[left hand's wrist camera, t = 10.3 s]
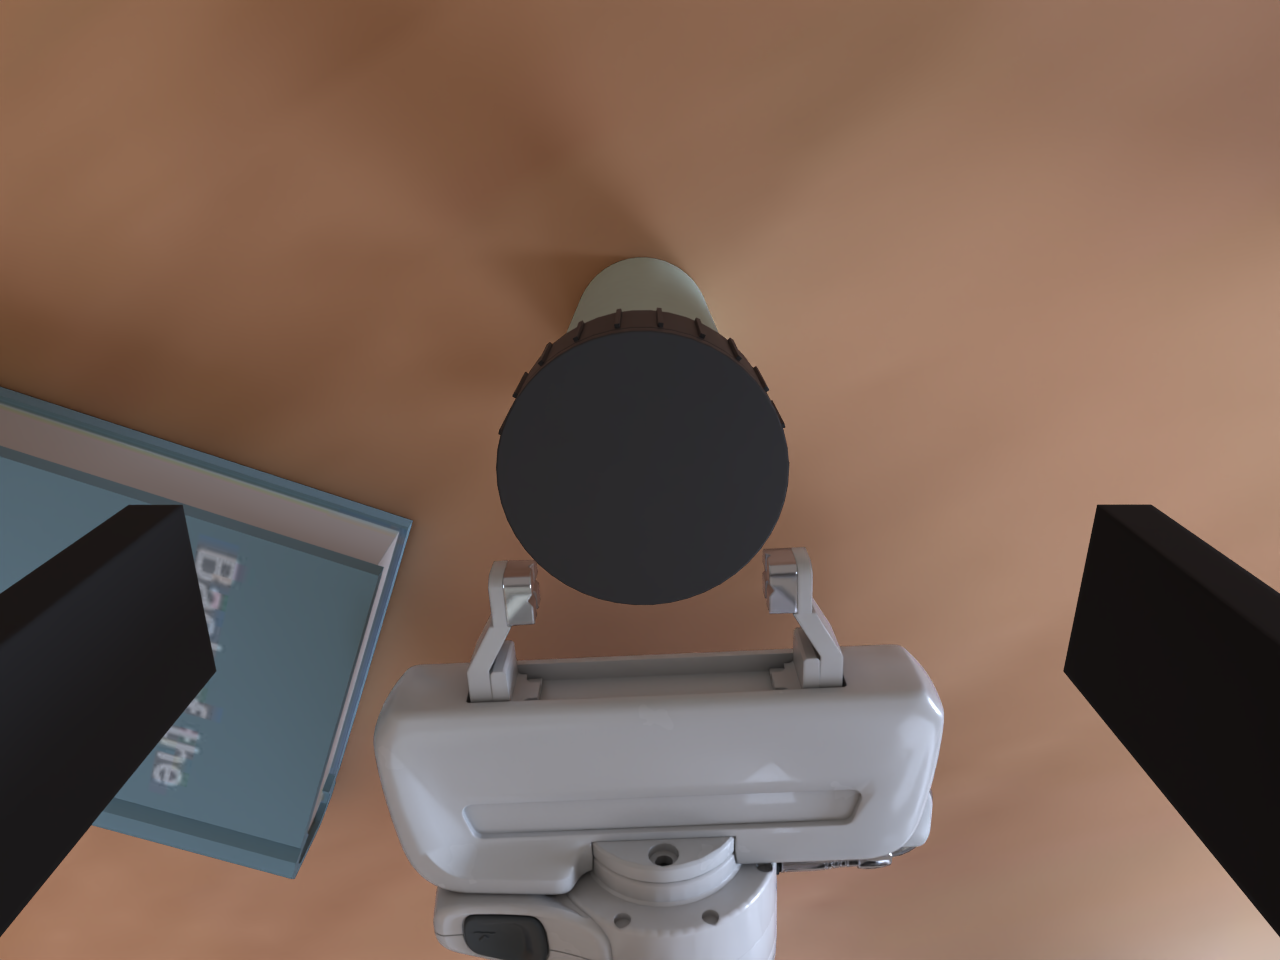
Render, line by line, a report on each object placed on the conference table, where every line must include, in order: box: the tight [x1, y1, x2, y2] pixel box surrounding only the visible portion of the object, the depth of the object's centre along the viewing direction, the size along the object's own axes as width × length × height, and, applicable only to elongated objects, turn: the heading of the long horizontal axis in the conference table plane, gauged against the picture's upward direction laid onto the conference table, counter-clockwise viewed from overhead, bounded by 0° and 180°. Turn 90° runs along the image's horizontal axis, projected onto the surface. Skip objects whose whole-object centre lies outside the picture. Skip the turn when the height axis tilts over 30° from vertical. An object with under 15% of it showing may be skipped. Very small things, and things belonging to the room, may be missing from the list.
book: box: [0, 387, 413, 879], centre depth 35 cm, size 23×16×5 cm
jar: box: [567, 257, 718, 333], centre depth 26 cm, size 5×5×16 cm
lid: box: [496, 308, 789, 605], centre depth 19 cm, size 6×6×2 cm
